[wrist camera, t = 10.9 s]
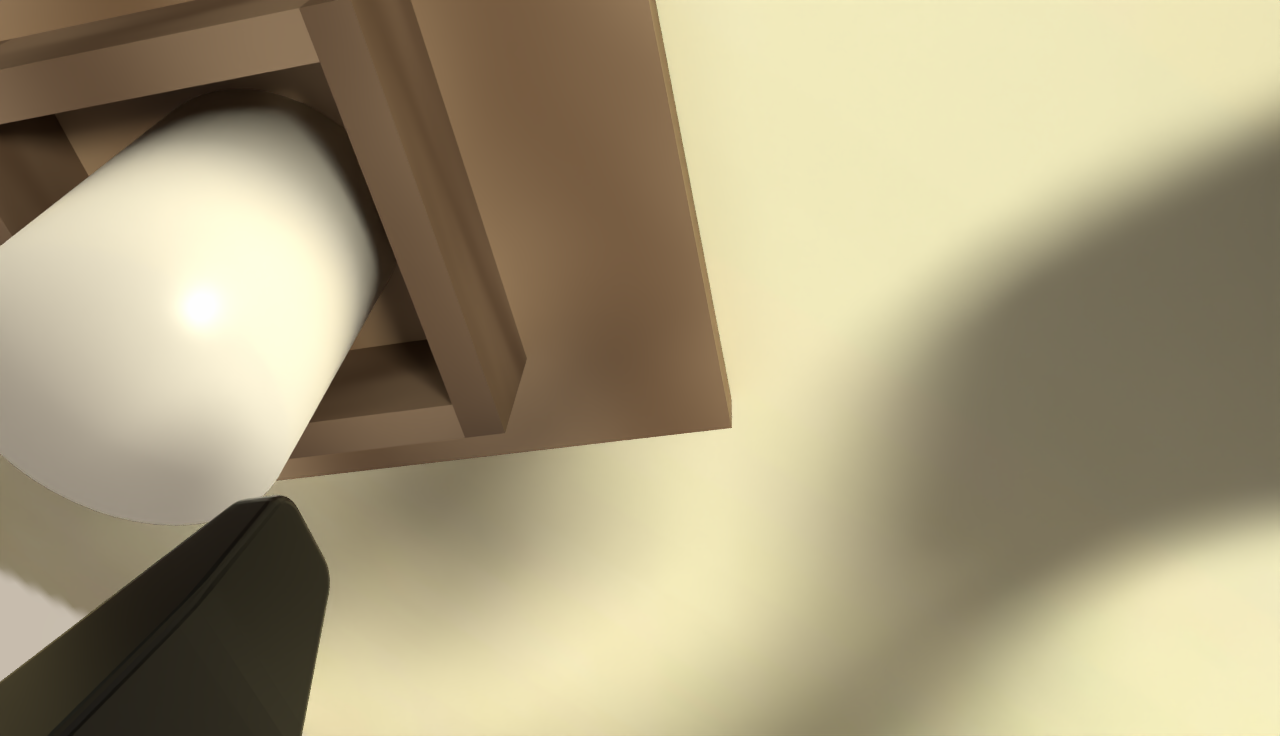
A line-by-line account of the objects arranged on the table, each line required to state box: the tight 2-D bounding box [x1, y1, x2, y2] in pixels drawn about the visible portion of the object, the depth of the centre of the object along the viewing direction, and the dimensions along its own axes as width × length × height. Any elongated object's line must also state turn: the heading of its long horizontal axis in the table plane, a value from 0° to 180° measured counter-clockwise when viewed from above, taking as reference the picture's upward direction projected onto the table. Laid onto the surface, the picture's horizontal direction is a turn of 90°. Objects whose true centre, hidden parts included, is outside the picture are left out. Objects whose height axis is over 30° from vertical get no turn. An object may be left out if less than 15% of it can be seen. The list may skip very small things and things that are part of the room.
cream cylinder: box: [0, 89, 396, 525], centre depth 17 cm, size 5×5×6 cm
